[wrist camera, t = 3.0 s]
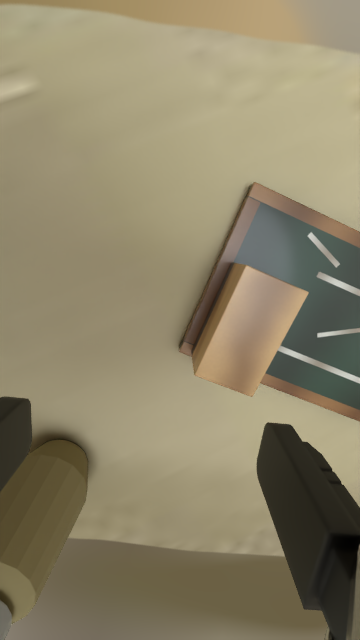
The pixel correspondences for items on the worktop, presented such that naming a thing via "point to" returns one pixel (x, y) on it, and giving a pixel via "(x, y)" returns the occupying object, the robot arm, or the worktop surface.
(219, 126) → the worktop surface
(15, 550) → the squeeze bottle
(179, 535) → the worktop surface
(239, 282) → the eraser
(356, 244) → the chalkboard
